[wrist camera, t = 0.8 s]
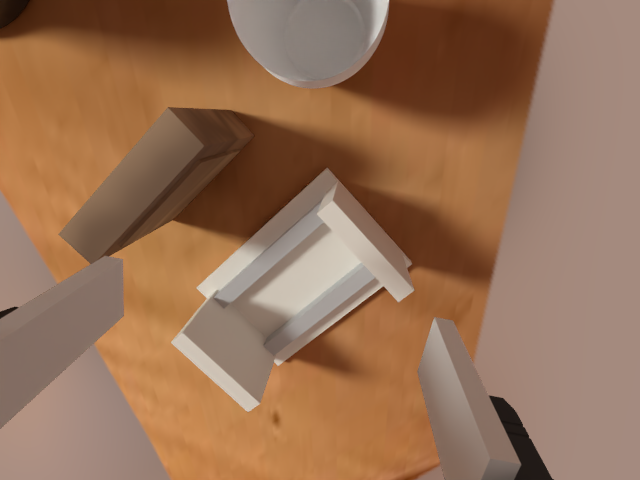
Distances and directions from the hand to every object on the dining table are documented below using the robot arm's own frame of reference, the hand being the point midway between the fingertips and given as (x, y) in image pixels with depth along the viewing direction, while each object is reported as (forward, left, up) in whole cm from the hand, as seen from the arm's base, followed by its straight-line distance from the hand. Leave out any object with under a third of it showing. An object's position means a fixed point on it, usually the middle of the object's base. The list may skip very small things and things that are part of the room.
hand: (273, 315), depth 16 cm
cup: (-10, +10, -21) cm, 25 cm away
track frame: (+4, -6, -21) cm, 22 cm away
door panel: (-10, -6, -21) cm, 24 cm away
